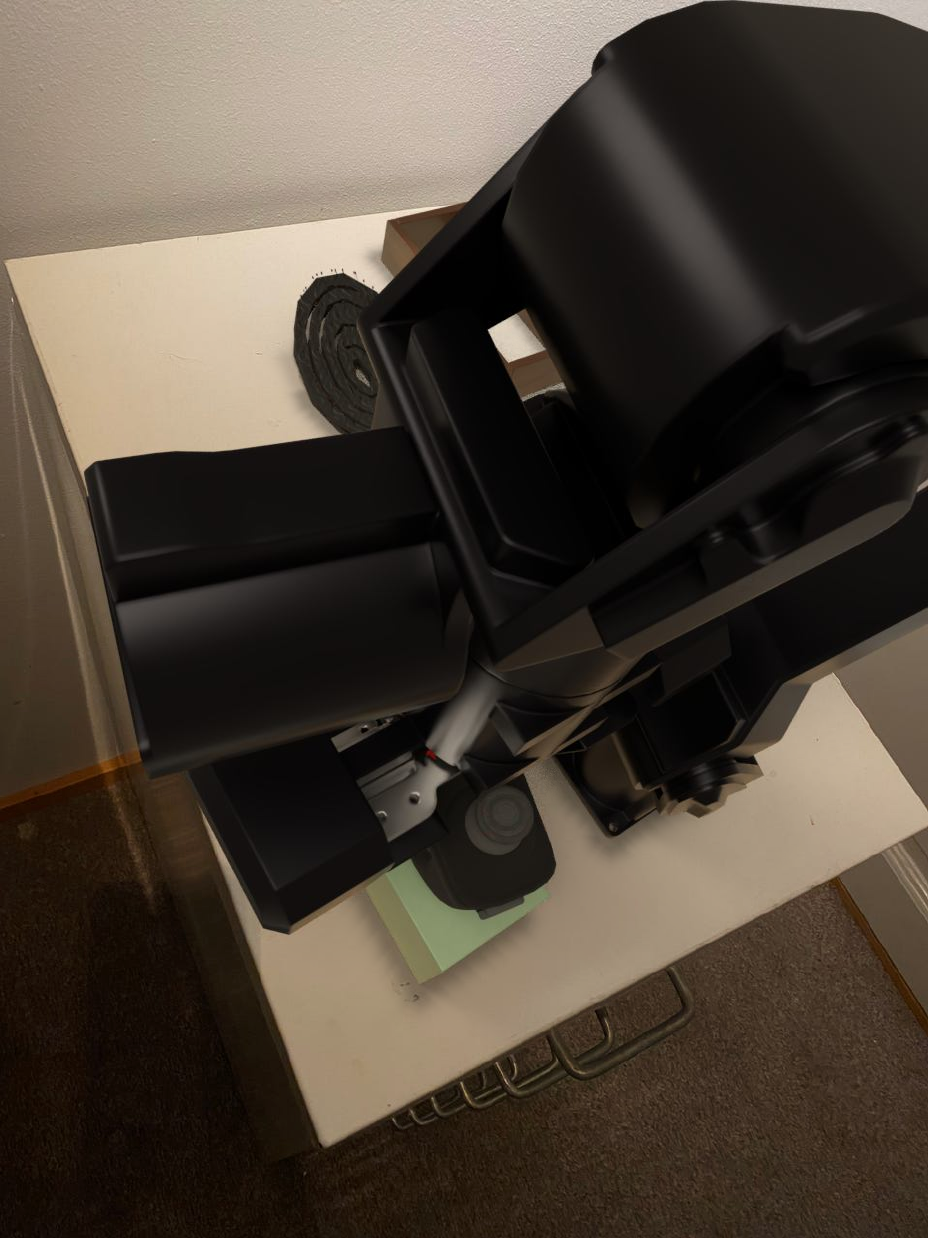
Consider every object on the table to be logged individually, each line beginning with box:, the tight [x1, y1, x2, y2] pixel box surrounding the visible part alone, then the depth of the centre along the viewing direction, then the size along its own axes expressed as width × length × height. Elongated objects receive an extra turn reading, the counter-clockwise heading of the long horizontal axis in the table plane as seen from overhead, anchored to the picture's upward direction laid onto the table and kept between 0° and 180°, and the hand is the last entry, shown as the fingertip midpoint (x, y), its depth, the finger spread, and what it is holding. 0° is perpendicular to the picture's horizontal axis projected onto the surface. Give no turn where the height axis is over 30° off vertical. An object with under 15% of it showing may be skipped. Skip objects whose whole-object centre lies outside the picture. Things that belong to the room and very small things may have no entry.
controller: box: [380, 712, 557, 920], centre depth 34 cm, size 4×12×10 cm, turn 23°
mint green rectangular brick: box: [364, 859, 552, 985], centre depth 41 cm, size 13×6×6 cm, turn 33°
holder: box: [380, 201, 563, 398], centre depth 62 cm, size 16×8×4 cm, turn 33°
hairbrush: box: [292, 268, 379, 434], centre depth 54 cm, size 8×4×25 cm
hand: (437, 776), depth 35 cm, fingers closed on controller, 4 cm apart
